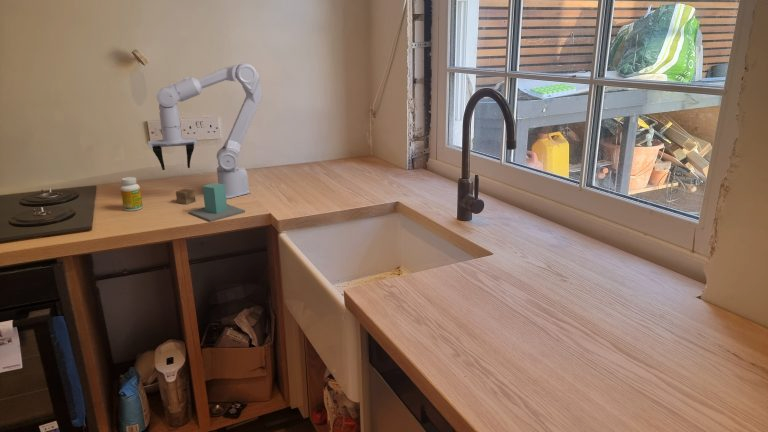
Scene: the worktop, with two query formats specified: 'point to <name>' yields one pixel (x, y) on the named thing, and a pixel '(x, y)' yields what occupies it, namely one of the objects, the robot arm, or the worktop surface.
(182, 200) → the walnut block
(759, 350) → the worktop surface
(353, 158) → the worktop surface
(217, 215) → the slate mat
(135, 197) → the supplement bottle
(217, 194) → the teal block
